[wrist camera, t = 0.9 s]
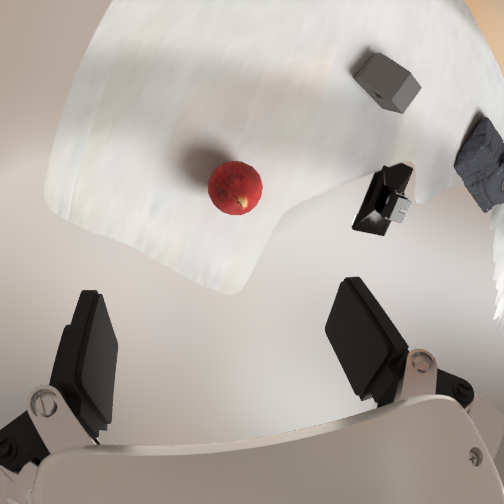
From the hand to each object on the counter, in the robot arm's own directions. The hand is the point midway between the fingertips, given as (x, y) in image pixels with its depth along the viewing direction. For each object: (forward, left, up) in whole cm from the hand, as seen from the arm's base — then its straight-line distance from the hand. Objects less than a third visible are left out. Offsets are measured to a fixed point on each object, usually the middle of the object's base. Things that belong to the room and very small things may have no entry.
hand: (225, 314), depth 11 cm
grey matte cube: (-21, +13, -26) cm, 36 cm away
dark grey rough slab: (-31, +44, -26) cm, 60 cm away
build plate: (-10, +26, -26) cm, 38 cm away
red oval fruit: (+1, +5, -26) cm, 26 cm away
